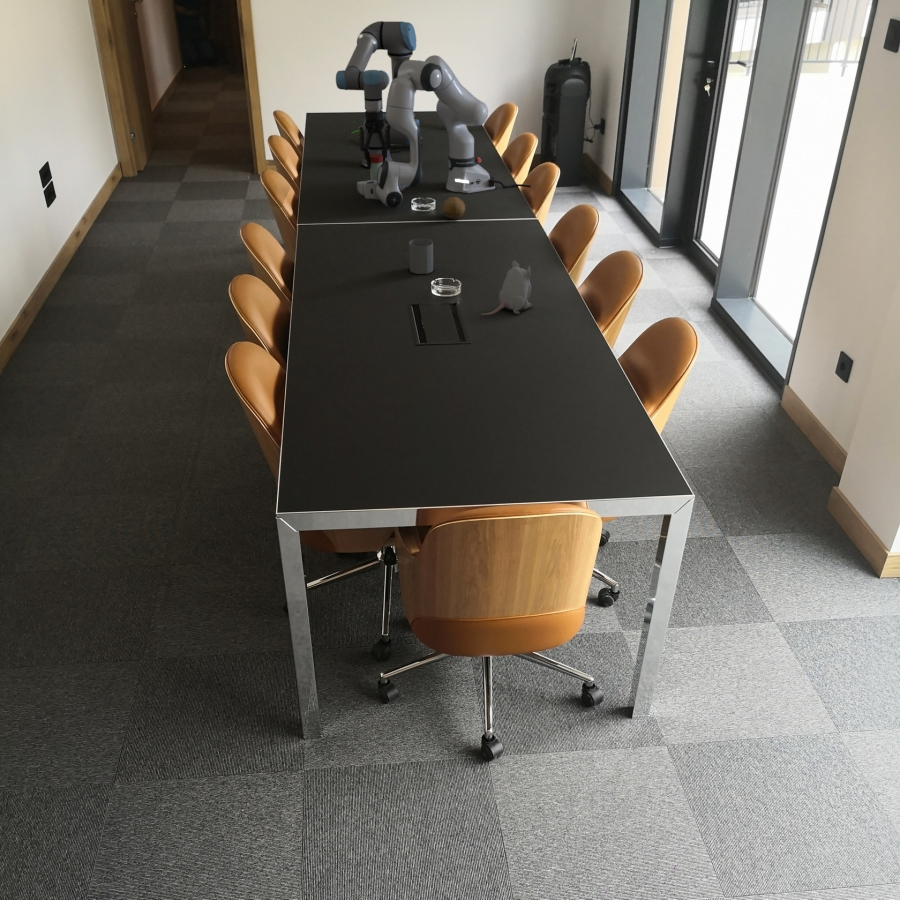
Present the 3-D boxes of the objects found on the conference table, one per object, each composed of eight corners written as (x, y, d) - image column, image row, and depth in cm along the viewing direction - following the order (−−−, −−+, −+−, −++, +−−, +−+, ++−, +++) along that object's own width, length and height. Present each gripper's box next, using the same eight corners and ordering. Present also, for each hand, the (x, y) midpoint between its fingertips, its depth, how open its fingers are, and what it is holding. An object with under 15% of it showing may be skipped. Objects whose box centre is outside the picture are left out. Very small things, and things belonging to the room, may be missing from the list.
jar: (384, 194, 386) (382, 155, 377) (383, 197, 382) (381, 158, 373) (371, 194, 387) (370, 155, 377) (370, 197, 382) (368, 158, 373)
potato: (463, 212, 364) (464, 193, 359) (466, 223, 352) (466, 203, 348) (440, 212, 363) (440, 193, 359) (442, 223, 351) (442, 204, 347)
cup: (409, 265, 311) (408, 238, 306) (432, 265, 312) (431, 238, 307) (410, 274, 304) (409, 246, 299) (433, 273, 305) (433, 246, 299)
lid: (383, 159, 379) (383, 153, 377) (382, 163, 373) (382, 157, 372) (369, 159, 379) (369, 153, 377) (368, 163, 373) (367, 157, 372)
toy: (538, 306, 281) (541, 262, 273) (491, 329, 266) (492, 282, 258) (517, 299, 286) (519, 255, 278) (469, 320, 271) (470, 275, 263)
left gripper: (392, 107, 371) (394, 162, 383) (349, 110, 365) (352, 166, 377) (398, 110, 365) (399, 166, 377) (354, 113, 359) (357, 170, 371)
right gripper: (407, 179, 371) (398, 171, 383) (361, 184, 366) (353, 175, 377) (408, 194, 375) (399, 185, 386) (361, 198, 369) (354, 190, 380)
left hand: (376, 166), depth 377 cm, fingers closed on lid, 6 cm apart
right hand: (376, 180), depth 381 cm, fingers closed on jar, 5 cm apart
